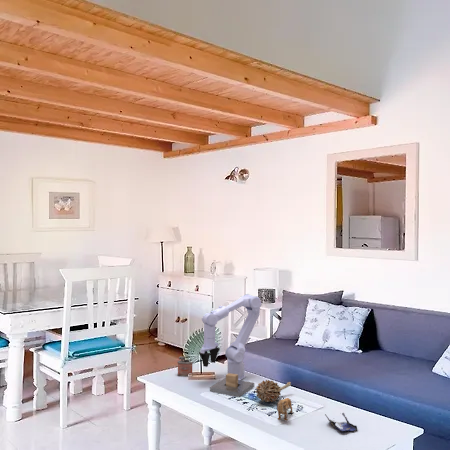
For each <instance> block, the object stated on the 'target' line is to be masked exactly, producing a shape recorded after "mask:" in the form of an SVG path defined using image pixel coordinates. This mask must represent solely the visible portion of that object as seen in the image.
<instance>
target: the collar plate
mask: <svg viewBox="0 0 450 450" xmlns="http://www.w3.org/2000/svg"><path fill="white" fill-rule="evenodd" d="M253 387H254V388H255V382H253V381H246V380H238V387H237V388H235V387H230V386H226V377H224V378H222V379H221V380H219V381H218V382H215V384H213V385H211V386H209V392H211V393H216V394H222V395H226V396H227V395H228V396H232V397H237V398H241V397H242V396H244V395H245V394H246V392H247V393H248V392H250V391H251V390H252V389H254V388H253ZM250 389H251V390H250Z"/></svg>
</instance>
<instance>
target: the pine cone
mask: <svg viewBox="0 0 450 450" xmlns="http://www.w3.org/2000/svg"><path fill="white" fill-rule="evenodd" d="M291 383H292V382H291V381H288V382H287V383H286V384H284V385H283V386H279V385H278V382H275V381H273V380H270V379H265V381H264V380H262V382H258V383H257V385H258V386H256V387H255V389H256V390H255V391H254V392H255V393H256V397H257V399H259V400H260V401H261V402H265V403H267V402H268V403H270V402H271V403H273V401H274V402H276V400H278V398H279V399H280V398H281V397H280V396H281V395H282V394H281V391H283V390H285V389H287V388H288V387H291V386H292V384H291Z"/></svg>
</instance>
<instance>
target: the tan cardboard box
mask: <svg viewBox="0 0 450 450" xmlns="http://www.w3.org/2000/svg"><path fill="white" fill-rule="evenodd" d="M225 378H226V386H230V387H235V388H237V387H238V375H237V374H231V373H228V372H227V373H226V374H225Z"/></svg>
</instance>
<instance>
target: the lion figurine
mask: <svg viewBox="0 0 450 450" xmlns="http://www.w3.org/2000/svg"><path fill="white" fill-rule="evenodd" d="M292 404H293V403H292V400H291V399H290V398H289V397H287V398H284V399H280V400H279V401H278V402H277V404H276V410H277V414H278V418H277V420H278V421H280V420H281V418H282V417H281V415H284V416H283V419H284V421H288V418H287V415H288V411H289V413H290V414H293V413H294V412H293V407H292Z"/></svg>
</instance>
